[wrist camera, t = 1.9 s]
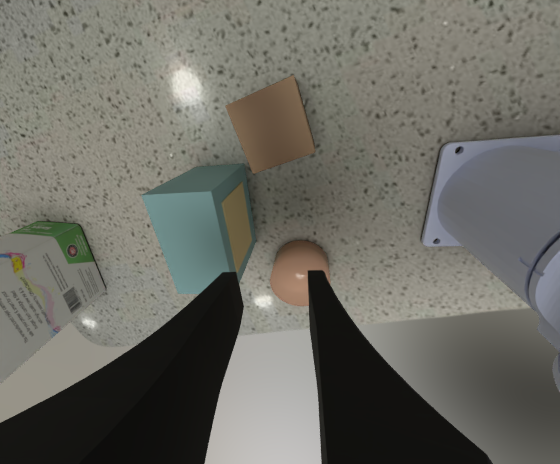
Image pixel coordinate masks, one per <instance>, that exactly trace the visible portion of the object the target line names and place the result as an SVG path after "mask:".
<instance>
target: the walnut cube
mask: <svg viewBox="0 0 560 464" xmlns="http://www.w3.org/2000/svg"><path fill="white" fill-rule="evenodd" d="M226 109H227V111H228V114H229V116H230V118H231V121H232V123H233V126H234V128H235V131H236V133H237V136H238V138H239V141H240V143H241V145H242V148H243V150H244V153H245V155H246V158H247V160H248V163H249V165H250V167H251V170H252V172H253V174H255V173H258V172H260V171H263V170H266V169H269V168H272V167H275V166H278V165H280V164H283V163H286V162H289V161H292V160H295V159H297V158H300V157H303V156H306V155H309V154H312V153H315V145H314V140H313V137H312V133H311V130H310V126H309V123H308V119H307V116H306V112H305V108H304V105H303V101H302V98H301V94H300V91H299V87H298V84H297V81H296V79H295V77H294V75H293V76H291V77H288V78H286V79H284V80H282V81H279V82H277V83H275V84H273V85H270V86H268V87H266V88H264V89H262V90H259V91H257V92H255V93H253V94H250V95H248V96H246V97H244V98H241V99H239V100H237V101H235V102H233V103H230V104H228V105H226Z"/></svg>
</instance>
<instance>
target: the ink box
mask: <svg viewBox="0 0 560 464" xmlns="http://www.w3.org/2000/svg"><path fill="white" fill-rule="evenodd" d="M105 290H106V289H105V286H104V284H103V281H102V279H101V276H100V274H99V271H98V269H97V266H96V264H95V261H94V259H93V257H92V254H91V252H90V249H89V247H88V244H87V242H86V239H85V237H84V234H83V232H82V229H81V227H80V226H79V225H78V224H69V223H57V222H41V221H38V222H35V223H32V224H30V225H28V226H25V227H23V228H21V229H19V230H16V231H14V232H12V233H9V234H7V235H4V236H2V237H0V384H1V383H2V382H3V381H4V380H6V379H7V378H8V377H9V376H10V375H11V374H12V373H13V372H15V371H16V370H17V369H18V368H19V367H20V366H21V365H23V364H24V363H25V362H26V361H27V360H28V359H29V358H30V357H31V356H33V355H34V354H35V353H36V352H37V351H38V350H39V349H40V348H41V347H43V346H44V345H45V344H46V343H47V342H48V341H49V340H51V339H52V338H53V337H54V336H55V335H56V334H57V333H58V332H59V331H60V330H62V329H63V328H64V327H65V326H66V325H67V324H68V323H70V322H71V321H72V320H73V319H74V318H75V317H76V316H77V315H78V314H80V313H81V312H82V311H83V310H84V309H85V308H86V307H87V306H89V305H90V304H91V303H92V302H93V301H94V300H95V299H96V298H97V297H99V296H100V295H101V294H102V293H103V292H104V291H105Z"/></svg>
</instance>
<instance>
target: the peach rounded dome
mask: <svg viewBox="0 0 560 464" xmlns="http://www.w3.org/2000/svg"><path fill="white" fill-rule="evenodd" d="M308 270H323V271H324V272H325V274H326V277H327V279H328V281H329V283H330V274H329V265H328V258H327V255H326V253H325V252H324V251H323V249H322V248H321V247H319V246H318V245H316V244H314V243H312V242H309V241H303V240H298V241H292V242H289V243H287V244H285V245H284V246H282V247H281V248H280V249H279V251H278V252H277V254H276V257H275V261H274V265H273V269H272V274H271V278H270V284H271V288H272V290H273V292H274V293H275V295H276V296H277V297H278V298H279V299H281V300H282V301H284V302H286V303H288V304H291V305H296V306H309V296H308Z"/></svg>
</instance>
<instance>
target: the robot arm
mask: <svg viewBox="0 0 560 464" xmlns="http://www.w3.org/2000/svg"><path fill="white" fill-rule="evenodd" d="M459 146H460V151H459V152H458V153H456V154H455V149H456V148H457V147H459ZM437 238H438V239H437ZM435 239H437V241H435V242H433V241H434V240H435ZM421 242H422V243H423V244H424V245H425V246H463V247H464V248H465V249H467V250H468V251H469V252H470V253H471V254H472V255H473V256H474V257H475V258H477V259H478V260H479V261H480V262H481V263H482V264H483V265H484V266H485V267H487V268H488V269H489V270H490V271H491V272H492V273H493V274H494V275H495V276H497V277H498V278H499V279H500V280H501V281H502V282H503V283H504V284H505V285H507V286H508V287H509V288H510V289H511V290H512V291H513V292H514V293H516V294H517V295H518V296H519V297H520V298H521V299H522V300H523V301H524V302H526V303H527V304H528V305H529V306H530V307H531V308H532V309H533V310H535V311H536V312H537V314H538V315H539V320H540V321H539V325H538V328H537V330H538V331H539V332H540V333H541V334H542V335H543V336H544V337H545V338H546V339H547V340H548V341H549V342H550V343H551V344H552V345H553V346H554V347H555V348H556V349H557V350H558V351H559V352H560V134H559V135H545V136H532V137H518V138H504V139H491V140H477V141H464V142H450V143H447V144H445V145H444V146H443V147H442V148H441V151H440V155H439V160H438V165H437V169H436V174H435V179H434V183H433V188H432V193H431V197H430V202H429V207H428V211H427V216H426V221H425V225H424V230H423V235H422V239H421ZM308 296H309V320H310V333H311V340H312V349H313V357H314V365H315V372H316V379H317V389H318V401H319V420H320V438H321V459H322V464H493V463H492V462H491V460H490V459H489V457H488V456H487V455H486V454H485V453H484V452H483V451H482V450H481V449H480V448H478V447H477V446H476V445H475V444H474V443H473V442H471V441H470V440H469V439H468V438H467V437H465V436H464V435H463V434H462V433H461V432H460V431H458V430H457V429H456V428H455V427H454V426H453V425H452V424H451V423H449V422H448V421H447V420H446V419H445V418H444V417H443V416H441V415H440V414H439V413H438V412H437V411H436V410H435V409H434V408H433V407H432V406H431V405H429V404H428V403H427V402H426V401H425V400H424V399H423V398H422V397H421V396H420V395H419V394H418V393H417V392H416V391H415V390H414V389H413V388H411V386H409V384H407V383H406V381H405V380H404V379H403V378H402V377H401V376H400V375H399V374H398V373H397V372H396V371H395V370H394V369H393V368H392V367H391V366H390V365H389V364H388V363H387V362H386V361H385V360H384V359H383V357H382V356H381V355H380V354H379V353H378V352H377V351H376V350H375V348H374V347H373V346H372V345H371V344H370V343H369V341H368V340H367V339H366V338H365V337H364V335H363V334H362V333H361V331H360V330H359V329H358V328H357V326H356V325H355V323H354V322H353V321H352V319H351V318H350V316H349V315H348V314H347V312H346V311H345V309H344V308H343V306H342V304H341V303H340V301H339V300H338V298H337V296H336V295H335V293H334V291H333V289H332V287H331V286H330V283H329V281H328V279H327V277H326V274H325V272H324V271H323V270H308ZM243 308H244V306H243V301H242V296H241V292H240V287H239V282H238V278H237V273H236V272H222V273H221V274H220V275H219V276H218V277H217V278H216V279H215V280H214V281H213V282H212V283H211V284H210V285H209V286H208V287H206V288H205V289H204V290H203V291H202V292H201V293H200V294H199V295H198V296H197V297H196V298H195V299H194V300H193V301H192V302H190V303H189V304H188V305H187V306H186V307H185V308H184V309H182V310H181V311H180V312H179V313H178V314H177V315H175V316H174V317H173V318H172V319H171V320H170V321H168V322H167V323H166V324H165V325H163V326H162V327H161V328H160V329H158V330H157V331H156V332H154V333H153V334H152V335H150V336H149V337H147V338H146V339H145V340H143V341H142V342H141V343H139V344H138V345H136V346H135V347H133V348H132V349H130V350H129V351H127V352H126V353H124V354H123V355H121V356H120V357H118V358H117V359H115V360H114V361H112V362H111V363H109V364H107V365H106V366H104V367H103V368H101V369H99V370H98V371H96V372H94V373H93V374H91V375H89V376H88V377H86V378H85V379H83V380H81V381H79V382H77V383H75V384H74V385H72V386H70V387H69V388H67V389H65V390H63V391H61V392H59V393H58V394H56V395H54V396H52V397H50V398H48V399H46V400H44V401H43V402H40V403H38V404H36V405H34V406H33V407H31V408H29V409H27V410H25V411H23V412H21V413H19V414H17V415H15V416H13V417H11V418H9V419H7V420H5V421H3V422H1V423H0V464H204V463H205V458H206V453H207V448H208V443H209V438H210V433H211V429H212V424H213V419H214V415H215V410H216V406H217V402H218V397H219V393H220V389H221V386H222V382H223V379H224V376H225V373H226V370H227V367H228V363H229V360H230V357H231V354H232V351H233V348H234V345H235V342H236V338H237V335H238V332H239V329H240V324H241V319H242V314H243ZM553 376H554V380H555V383H556V385H557V388H558V390H559V392H560V353H559V354H558V355H557V357H556V358H555V359H554V364H553Z"/></svg>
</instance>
